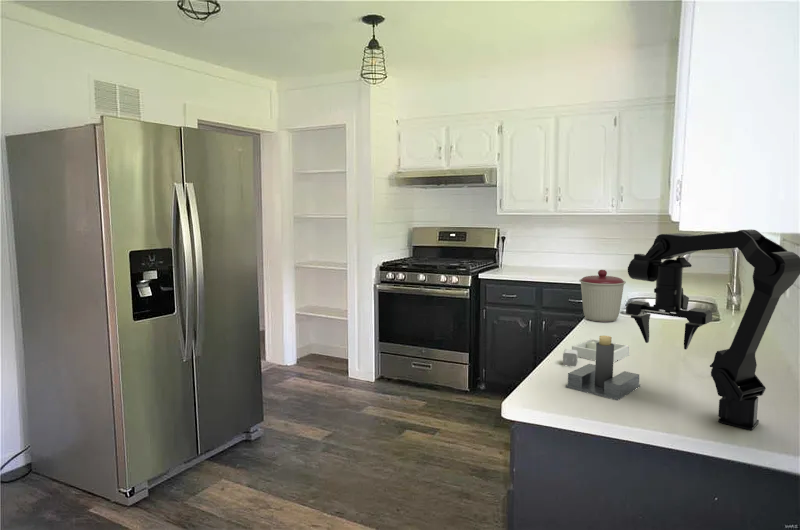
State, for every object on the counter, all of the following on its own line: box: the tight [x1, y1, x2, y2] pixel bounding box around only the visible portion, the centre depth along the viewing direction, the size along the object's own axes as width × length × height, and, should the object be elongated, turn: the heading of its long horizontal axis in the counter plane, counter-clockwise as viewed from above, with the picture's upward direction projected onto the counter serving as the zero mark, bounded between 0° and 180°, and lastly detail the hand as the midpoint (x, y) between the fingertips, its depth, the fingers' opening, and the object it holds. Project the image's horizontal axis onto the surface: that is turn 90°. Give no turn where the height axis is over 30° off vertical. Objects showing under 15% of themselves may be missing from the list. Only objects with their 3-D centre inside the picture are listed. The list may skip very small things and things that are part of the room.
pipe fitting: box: [586, 341, 596, 350], centre depth 175 cm, size 8×4×7 cm
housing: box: [565, 363, 641, 401], centre depth 144 cm, size 14×14×4 cm
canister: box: [579, 269, 626, 323], centre depth 225 cm, size 18×18×21 cm
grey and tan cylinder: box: [594, 335, 614, 387], centre depth 143 cm, size 4×4×13 cm
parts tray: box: [571, 338, 630, 363], centre depth 173 cm, size 13×13×3 cm
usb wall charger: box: [562, 348, 579, 367], centre depth 164 cm, size 4×7×4 cm, turn 159°
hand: (665, 345), depth 136 cm, fingers open, 9 cm apart
